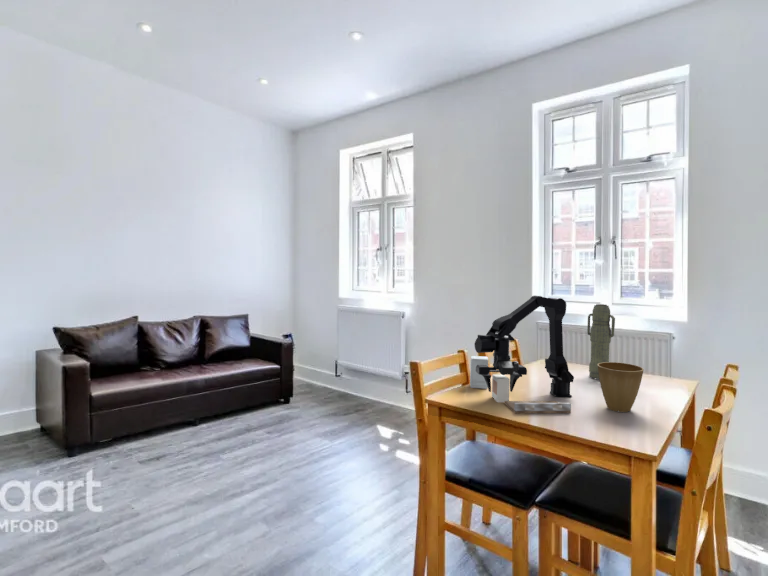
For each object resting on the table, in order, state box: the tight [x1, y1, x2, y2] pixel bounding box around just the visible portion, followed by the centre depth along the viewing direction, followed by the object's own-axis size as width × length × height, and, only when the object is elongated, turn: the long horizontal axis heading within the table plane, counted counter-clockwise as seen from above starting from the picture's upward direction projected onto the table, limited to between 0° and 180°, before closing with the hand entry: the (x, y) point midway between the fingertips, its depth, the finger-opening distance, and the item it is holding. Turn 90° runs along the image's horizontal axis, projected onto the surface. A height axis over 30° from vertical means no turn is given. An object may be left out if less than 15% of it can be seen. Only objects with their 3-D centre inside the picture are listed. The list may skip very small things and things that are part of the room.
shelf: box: [503, 400, 572, 414], centre depth 164 cm, size 20×12×3 cm, turn 93°
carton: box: [491, 374, 510, 403], centre depth 174 cm, size 4×7×9 cm, turn 3°
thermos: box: [586, 303, 616, 380], centre depth 213 cm, size 9×12×35 cm
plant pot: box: [598, 361, 644, 413], centre depth 163 cm, size 15×15×16 cm
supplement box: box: [469, 355, 489, 390], centre depth 194 cm, size 7×7×13 cm
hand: (500, 391), depth 174 cm, fingers open, 8 cm apart
